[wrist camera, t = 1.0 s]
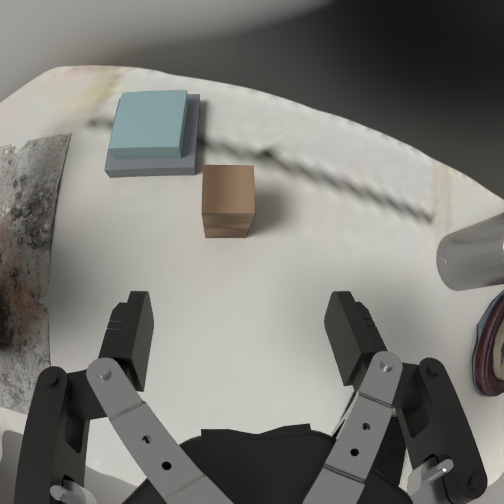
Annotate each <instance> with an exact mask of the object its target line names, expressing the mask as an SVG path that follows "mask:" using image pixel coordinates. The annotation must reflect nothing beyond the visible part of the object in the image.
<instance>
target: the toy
mask: <svg viewBox="0 0 504 504" xmlns="http://www.w3.org/2000/svg"><path fill="white" fill-rule="evenodd" d="M405 450H406V443H405V439H404V436H403V432H402V429H401V426H400V422H399V419H398V418H396V417H393V416H392V417H391V418H390V420H389V423H388V426H387V429H386V431H385V434H384V437H383V439H382V442H381V444H380V447H379V449H378V452H377V454H376V457H375V459H374V461H373V464H372V466H371V467H372V468H374V469H375V470H376V471H378V472H379V473H380V474H382V475H383V476H384V477H386V478H387V479H389V480H390V481H391V482H393V483H394V484H395V485H397V486H399V483H400V478H401V473H402V467H403V462H404V456H405Z"/></svg>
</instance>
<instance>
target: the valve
mask: <svg viewBox="0 0 504 504" xmlns="http://www.w3.org/2000/svg"><path fill="white" fill-rule="evenodd" d="M70 136H71V134H65V135H59V136H53V137H47V138H41V139H35V140H30V141H28V142H27V143H26V144H25V147H22V148H21V149H20V150H18V152H17V153H14V151H15V149H16V146H14V147H12V146H11V145H12V144H11V145H6V146H2V147H0V407H3V408H6V409H10V410H13V411H16V412H20V413H24V414H28V413H29V408H30V404H31V400H32V397H33V393H34V389H35V385H36V382H37V378H38V376H39V374H40V373H41V372H42V371H43V370H44V369H46V368H48V367H50V360H49V343H48V309H47V308H46V306H45V304H44V303H43V304H39V301H38V299H40V294H42V297H43V296H46V295H47V288H46V286H47V285H49V270H50V257H51V253H50V248H51V242H52V229H51V226H52V222H53V219H54V214H55V203H56V199H57V188H58V183H59V180H60V177H61V174H62V169H63V164H64V160H65V155H66V151H67V147H68V144H69V140H70ZM9 149H10V150H9ZM5 150H8V151H9V152H8V153H7V154H5ZM9 155H11V156H9ZM16 205H17V206H18V205H19V206H20V207H21V208H20V209H19V208H18V209H16V208H17V207H15V206H16ZM3 206H5V207H4V210H5V209H6V208H7V206H8V208H10V209H11V211H9V212H8V214H6V211H4V210H3V211H2V209H3ZM24 206H25V209H24V211H23V209H22V207H24ZM3 213H4V216H3V218H2V216H1V215H2V214H3ZM31 214H32V216H31V218H30V220H25V224H24V221H22V225H25V236H23V234H22V233H21V235H20V236H18V234H19V232H20V231H16V232H15V231H12V230H8V229H7V228H8V225H9V227H10V226H12V224H13V222H14V221H16V219H19V218H20V217H21V216H22V215H23V217H24V218H26V217H28V216H29V215H31ZM34 215H35V218H34ZM11 218H12V219H11ZM34 219H35V221H34ZM14 227H16V224H14ZM35 294H36V297H37V299H36V300H35Z"/></svg>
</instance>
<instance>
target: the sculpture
mask: <svg viewBox="0 0 504 504" xmlns="http://www.w3.org/2000/svg"><path fill="white" fill-rule="evenodd" d="M473 374H474V383H475V390H476V392H477V393H478V394H480V395H482V396H488V397H490V396H498V395H499V394H501V393H503V392H504V290H503V291H502V292H501V294H500V295H499V296H498V297H497V298H496V299H495V300H494V301H493V302H492V304H491V305H490V307H489V308H488V310H487V311H486V313H485V314H484V315H483V317H482V318H481V320H480V321H479V323H478V344H477V347H476V351H475V354H474V357H473Z"/></svg>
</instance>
